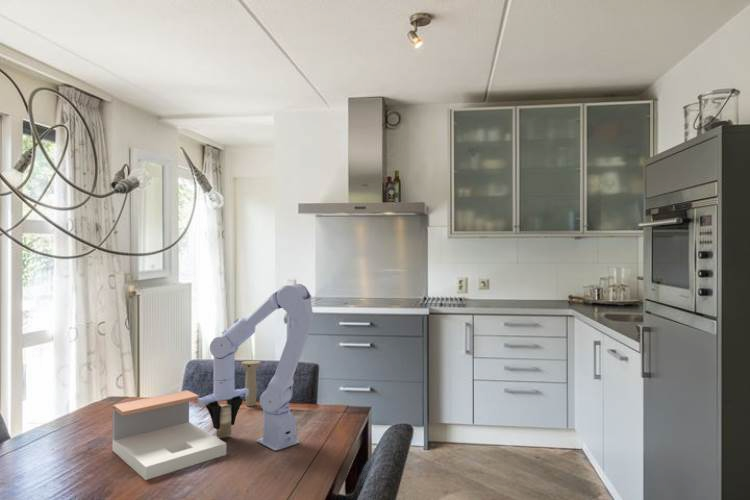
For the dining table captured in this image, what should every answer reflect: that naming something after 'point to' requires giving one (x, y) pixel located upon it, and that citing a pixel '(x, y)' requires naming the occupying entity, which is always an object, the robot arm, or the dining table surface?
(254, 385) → the handle
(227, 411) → the peg
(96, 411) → the dining table surface
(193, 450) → the station
